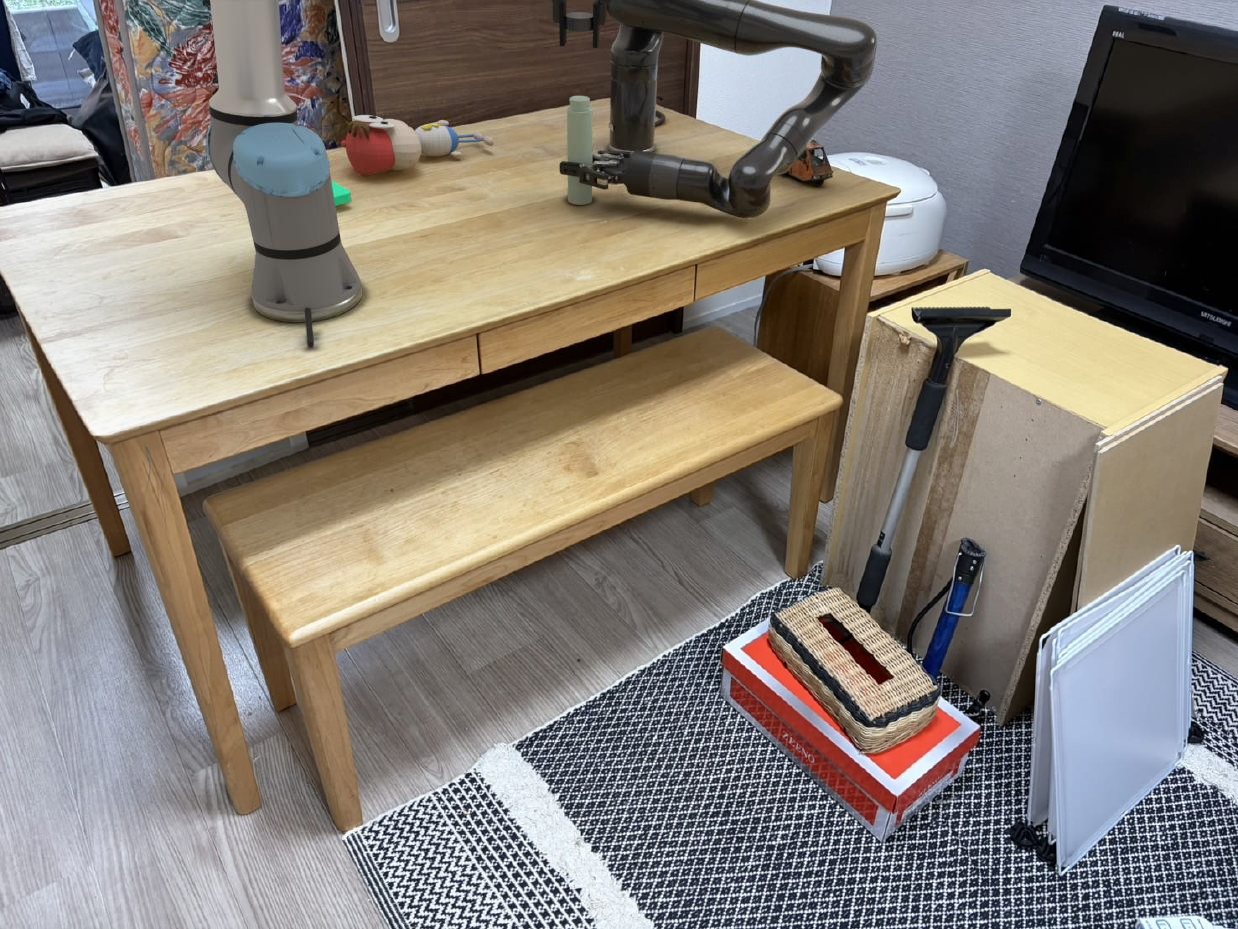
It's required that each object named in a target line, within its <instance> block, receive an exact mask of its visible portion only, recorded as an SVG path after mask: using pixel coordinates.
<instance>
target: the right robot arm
mask: <svg viewBox="0 0 1238 929" xmlns="http://www.w3.org/2000/svg"><path fill="white" fill-rule="evenodd" d="M606 13H608V15H609V16H610V18H611V19H613V21H615V22H616V23H617V24H619V30H618V33H617V36H616V38H615V39H614V41H613V43H612V46H611V50H610V51H611V52H610V97H609V98H610V99H609V101H610V102H609V122H608V129H609V141H608V150H597V153H596V152H592V164H584V163H582V164H581V163H575V162H568V160H562V161H560V162H559V174H560V175H564V176H568V175H569V176H576V177H579V183H582V184H586V185H589V186H592V188H597V189H600V190H609V185H611V186H616V185H624V186H625V189H626V191H627V193H628V194H629V195H632V196H638V197H645V198H651V199H658V200H665V201H667V200H668V201H682V202H690V203H696V204H703V205H705V206H707V207H709V208H712V209H713V210H716V211H719V212H721V213H723V214H726V215H729V216H732V217H735V218H740V219H752V218H754V219H755V218H758V217H760V216H762V215H764V214H765V213H766V212H767V210H768V209H769V207H770V205H771V200H772V199H771V198H772V195H771V193H772V192H771V191H772V190H771V189H772V188H771V184H772V183H771V182H772V180H773V178H774V176H775V175H784V174H783V173H785V172H787V171H788V170H789V169H790V168H791V167H792V166H793V165H794V163H795V162H796V161H797V159H798V158H799V157H800V155H801V154H802V153H803V151H804V150H805V149H806V147H807V146H808V145H809V143H810V142H811V141H812V139H813V140H814V139H815V137H816V136H817V134H818V133H819V132H820V131H821V129H822V128H824V126H825V125H826V124H827V123H828V122H829V121H830V120H831V118H832V117H833V116H835V115H836V114H837V112H838V111H840V109H841V108H843V107H844V106H845V105H846V104H847V103H848V102H849V101H850V100H851V99H852V98H853V97H855V96H856V94H857V93H859V92H860V91H861V89H863V88H864V87H865V85H866V84H868V82H869V80H870V79H871V77H872V74H873V70H874V66H875V59H876V52H877V45H878V36H877V33H876V31H875V30H874V28H873V27H872V26H871V25H870V24H868V23H866V22H864V21H862V20H859V19H856V18H851V17H846V16H839V15H831V14H824V13H815V12H808V11H802V10H798V9H793V8H789V7H784V6H779V5H774V4H771V3H766V2H763V1H760V0H610V1H608V2H607V4H606ZM664 33H666V34H671V35H675V36H678V37H680V38H683V39H686V40H689V41H692V42H695V43H699V44H702V45H706V46H709V47H713V48H715V49H719V50H722V51H726V52H730V53H733V54H737V55H741V56H745V57H746V56H747V57H753V56H758V55H763V54H767V53H771V52H773V51H777V50H781V49H785V48H796V49H801V50H805V51H810V52H813V53H816V54H819V55H821V58H820V61H821V62H820V73H819V75H818V77H817V80H816V82H815V83H814V85H813V87H812V89H811V91H810V92H809V93H808V94H807V95H806V97H804V99H803V100H801V101H799V102H798V103H796V104H794V105H792V106H790V107H788V108H787V109H786V110H785V111H784V112H782V113H781V114H780V116H778V117H777V118H776V120H775V121H774V122H773V124H772V125H771V126H770V127H769V129H768V130H767V132H765V134H764V135H763V136H762V138H761V139H760V141H759V142H758V143H756V144H754V145H753V146H752V147H751V148H749V149H748V150H747V151H746V152H744V153H743V154H742V155H741V156H740V157H739V158H737V159H736V161H735V163H734V164H733V165H732V167H731V169H730V170H729V174H728V177H726V176H725V175H722V174H721V172H720V170H719V169H718V168H717V166H716V165H715V163H714V162H711V161H707V160H703V159H702V160H701V159H693V158H687V157H681V156H678V155H674V154H669V153H662V152H654V151H655V133H656V128H657V127H658V126H660V125H662V123H664V121H666V115H665V114H664V113H663V112H661V111H660V110H657V99H658V100H659V101H664V97H663V95H661V94H658V93H657V92H658V91H657V89H658V70H659V69H658V68H659V67H658V66H659V65H658V64H659V54H660V50H661V47H662V45H663V40H664ZM656 116H658V117H659V118H660V119H659V120H657V121H656ZM586 174H589V175H586Z"/></svg>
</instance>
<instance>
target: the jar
mask: <svg viewBox="0 0 1238 929" xmlns="http://www.w3.org/2000/svg"><path fill="white" fill-rule="evenodd" d="M568 101H569V106H568V107H567V108H566V127H567V128H566V137H567V138H566V139H567V140H566V142H567V148H566V149H567V153H566V154H567V161H568V162H575V163H581V164H582V163H584V164H592V153H593V139H594V138H593V134H594V133H593V127H594V126H593V125H594V122H593V120H594V119H593V118H594V117H593V116H594V109H593V107H592V106H591V99H590V97H589V96H586V95H573V96H570V97H569V100H568ZM586 175H589V174H586ZM567 201H568V203H570V204H572V205H577V206H584V205H589V204H591V203H592V202H593V186H589V185H586V184H582V183H579V177H576V176H569V175H567Z"/></svg>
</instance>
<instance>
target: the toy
mask: <svg viewBox="0 0 1238 929" xmlns="http://www.w3.org/2000/svg"><path fill="white" fill-rule="evenodd" d="M352 119H353V120H352V121H350V122H349V123H348V125H347V134H346V138H345V139H344V140H342V141H341V142H340V145H341V147H342V148H344V149H345V152H346V156H347V158H348V161H349V163H350V164H351V167H352V168H353V170H354V172H355V173H356V174H357V175H360V176H371V175H376V174H377V175H378V174H381V173H384V172H387V171H390V170H392V171H404V170H409V169H411V168H413V167H414V166H415V165H416V164H417V163H418V162H419V160H420V158H421V155H425V156H428V157H429V156H430V157H443V156H446V155H449V154H450V156H451V157H453V158H459V157H462V155H463V153H462V152H461V151H458V150H456V149H457V148H458V147H459V143H462V144H464V143H465V144H467V143H468V144H469V143H478V142H483V144H485V145H487V146H489V147H492V146H494V144H495V141H494V139H493V138H492V137H490V136H484V135H483V134H482V133H481V132H479V131H475V132H473V133H471V134H459V135H458V133H457V132H456V130H454V129H453V128H451V127H450V126H449V125H450V123H449V121H448V120H445V119H440V120H438V121H436V122H431V123H426V124H423V125H420V126H418V127H417V128H416V129H414V128H412V127H411V126H410V123H407V122H406V121H402V120H399V119H397V118H385V119H384V118H382V117H380V116H378V115H377V116H376V115H370V114H360V115H355V116H353V117H352ZM465 138H473V139H465Z"/></svg>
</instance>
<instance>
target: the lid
mask: <svg viewBox="0 0 1238 929" xmlns="http://www.w3.org/2000/svg"><path fill="white" fill-rule="evenodd" d="M565 29H566V31H570V32H575V33H577V32H578V33H581V32H582V33H585V32H591V31H593V13H590V12H582V11H581V12H579V11H575V12H566V14H565Z"/></svg>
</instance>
